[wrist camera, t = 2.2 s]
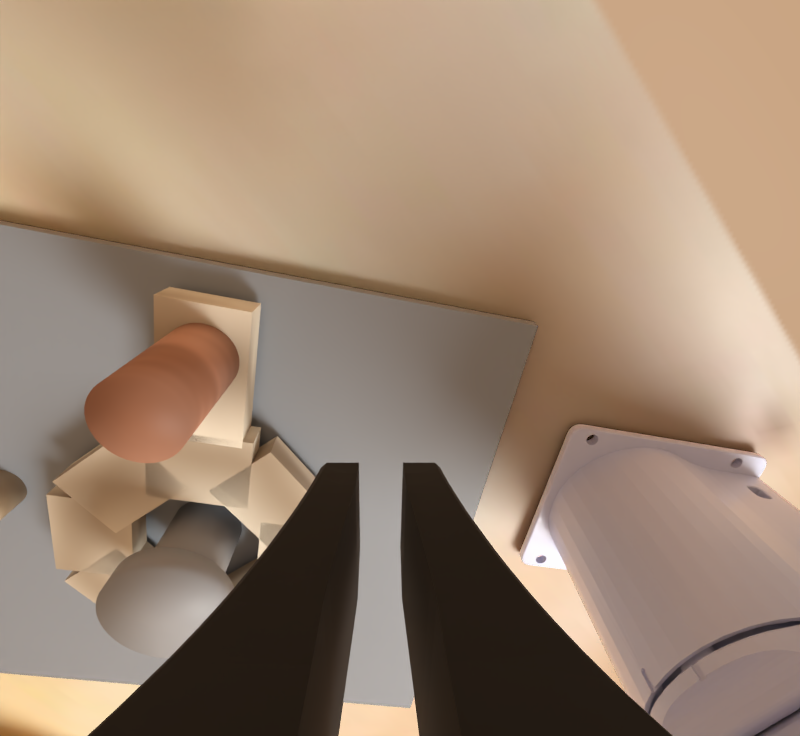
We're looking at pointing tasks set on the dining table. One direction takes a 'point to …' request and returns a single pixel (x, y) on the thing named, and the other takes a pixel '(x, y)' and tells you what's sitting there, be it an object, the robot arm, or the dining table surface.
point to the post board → (272, 411)
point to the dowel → (10, 492)
